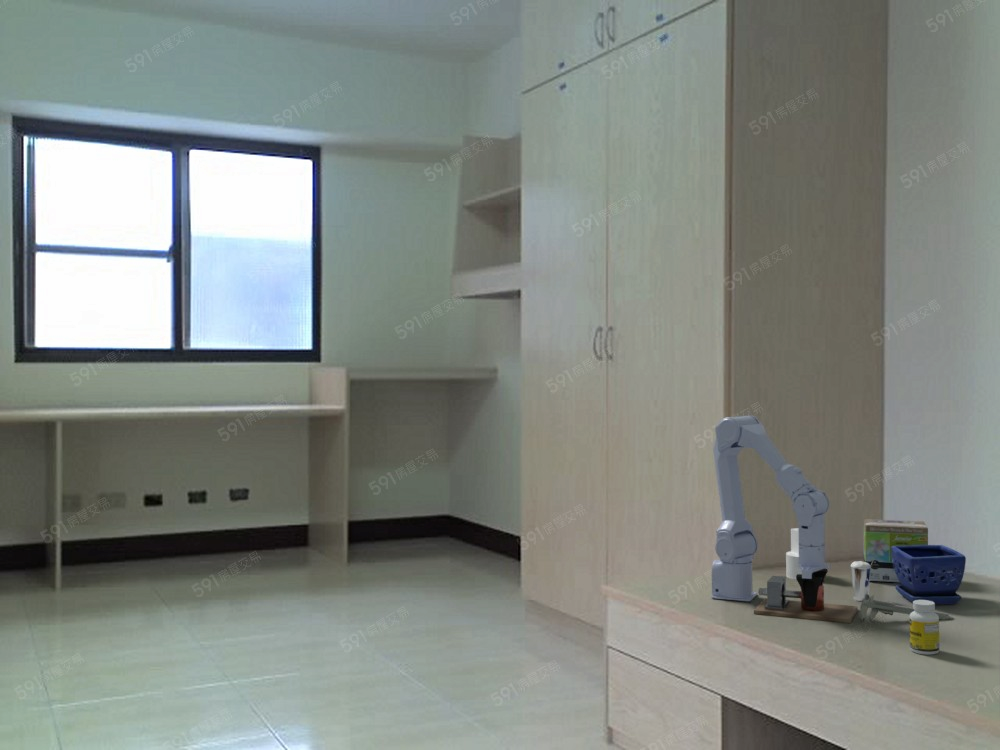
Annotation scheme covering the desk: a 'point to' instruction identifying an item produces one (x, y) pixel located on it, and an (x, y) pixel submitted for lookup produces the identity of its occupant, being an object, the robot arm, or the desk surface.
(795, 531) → the base with upright slab
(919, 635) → the supplement bottle
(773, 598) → the slotted metal block
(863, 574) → the milkshake
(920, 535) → the tea box
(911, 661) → the desk surface
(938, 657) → the desk surface
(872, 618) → the caliper
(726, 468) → the robot arm
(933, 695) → the desk surface
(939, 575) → the flower pot
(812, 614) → the board
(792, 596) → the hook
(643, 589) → the desk surface
